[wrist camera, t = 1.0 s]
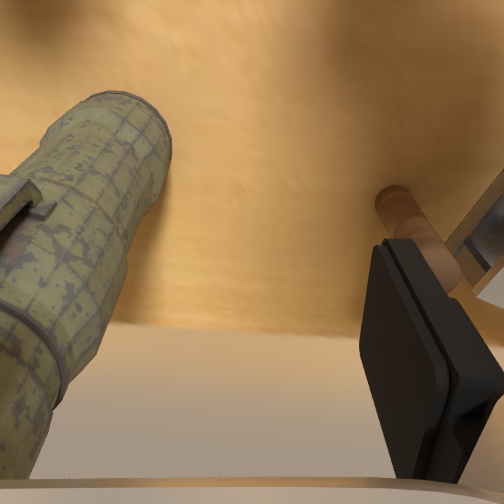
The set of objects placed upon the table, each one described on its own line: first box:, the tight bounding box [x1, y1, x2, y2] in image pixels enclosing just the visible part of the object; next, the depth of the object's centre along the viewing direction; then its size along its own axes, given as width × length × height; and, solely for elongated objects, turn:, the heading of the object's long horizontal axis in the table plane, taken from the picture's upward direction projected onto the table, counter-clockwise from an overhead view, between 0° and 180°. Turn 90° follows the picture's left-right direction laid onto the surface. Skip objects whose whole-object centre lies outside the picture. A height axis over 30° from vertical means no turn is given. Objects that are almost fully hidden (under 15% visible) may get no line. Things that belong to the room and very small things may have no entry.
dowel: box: [375, 186, 461, 293], centre depth 38 cm, size 3×3×12 cm
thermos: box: [0, 91, 172, 480], centre depth 25 cm, size 9×12×35 cm
